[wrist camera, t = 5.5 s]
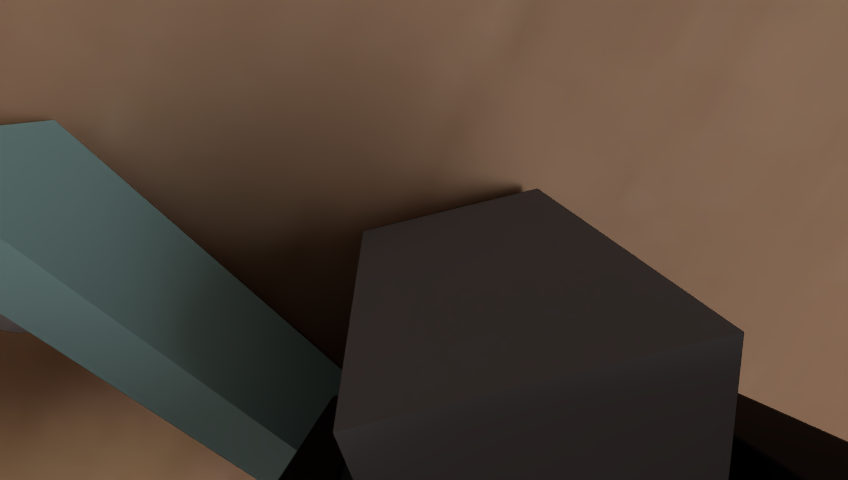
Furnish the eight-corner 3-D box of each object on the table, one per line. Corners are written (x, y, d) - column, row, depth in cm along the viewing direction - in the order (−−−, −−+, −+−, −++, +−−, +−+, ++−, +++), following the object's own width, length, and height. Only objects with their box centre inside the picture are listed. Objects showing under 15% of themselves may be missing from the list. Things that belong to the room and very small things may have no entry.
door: (501, 508, 12) (539, 624, 10) (452, 540, 13) (477, 663, 10) (54, 120, 7) (-139, 139, 4) (-17, 187, 7) (-245, 246, 4)
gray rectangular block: (561, 391, 11) (710, 653, 6) (422, 425, 11) (454, 715, 6) (537, 188, 9) (743, 331, 4) (363, 231, 9) (332, 432, 4)
